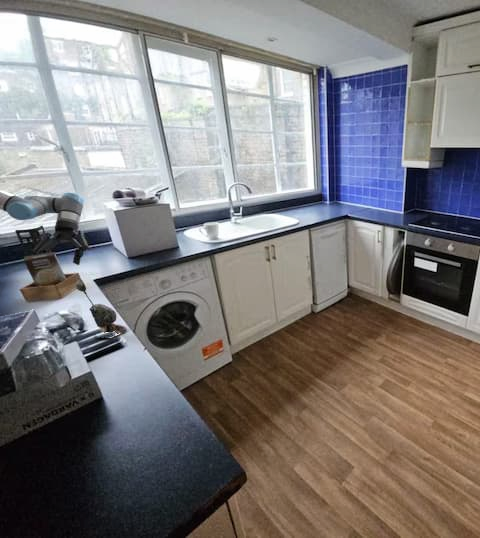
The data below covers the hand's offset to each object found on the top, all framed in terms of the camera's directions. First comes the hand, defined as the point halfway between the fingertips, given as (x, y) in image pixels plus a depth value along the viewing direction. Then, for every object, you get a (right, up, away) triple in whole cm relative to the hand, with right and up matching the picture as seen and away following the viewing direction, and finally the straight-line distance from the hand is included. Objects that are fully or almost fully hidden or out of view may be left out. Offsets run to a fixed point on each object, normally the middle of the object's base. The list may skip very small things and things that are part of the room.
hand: (58, 265), depth 128 cm
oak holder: (+2, -12, -3) cm, 12 cm away
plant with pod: (+51, -23, -33) cm, 65 cm away
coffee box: (+2, -11, -3) cm, 12 cm away
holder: (-41, +2, +33) cm, 53 cm away
